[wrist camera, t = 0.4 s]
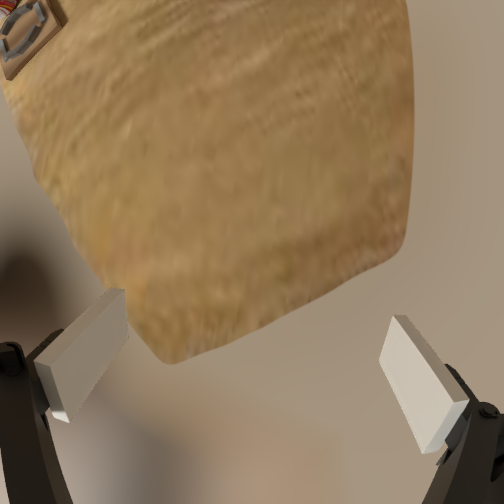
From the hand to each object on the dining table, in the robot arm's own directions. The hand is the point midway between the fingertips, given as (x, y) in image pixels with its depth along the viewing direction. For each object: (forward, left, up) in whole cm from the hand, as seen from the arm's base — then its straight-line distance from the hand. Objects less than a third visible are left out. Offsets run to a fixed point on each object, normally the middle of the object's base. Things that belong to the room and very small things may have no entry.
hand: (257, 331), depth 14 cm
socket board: (-30, -45, -28) cm, 60 cm away
